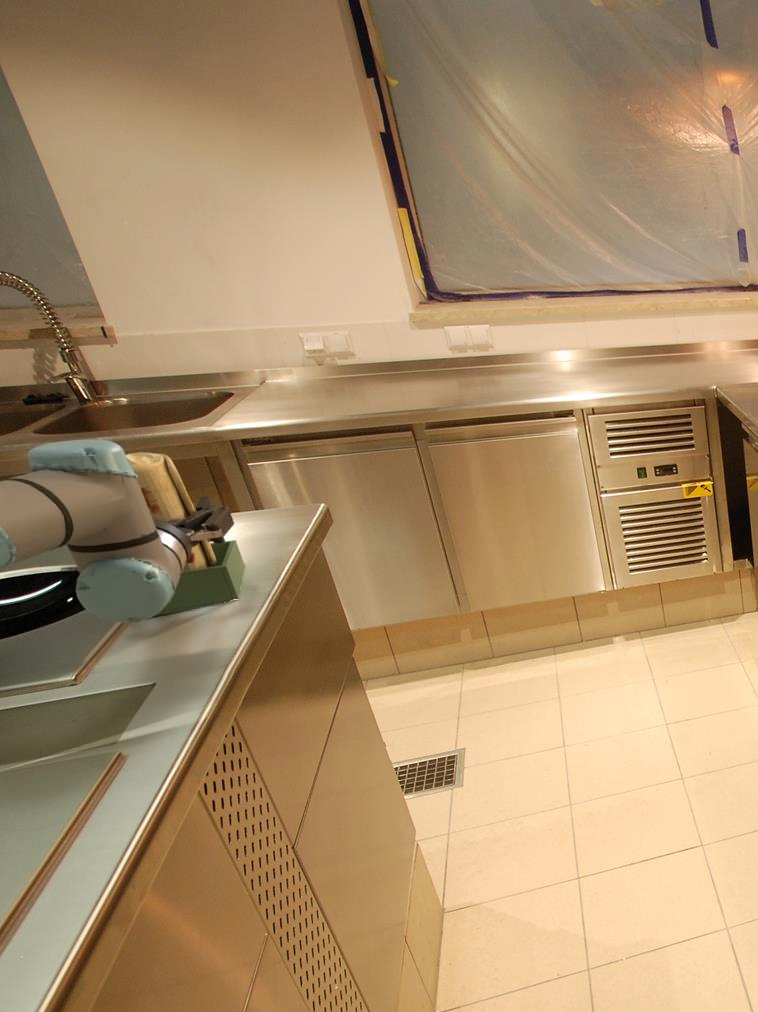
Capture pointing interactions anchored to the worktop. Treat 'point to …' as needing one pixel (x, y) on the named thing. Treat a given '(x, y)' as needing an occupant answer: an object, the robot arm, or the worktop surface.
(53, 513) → the robot arm
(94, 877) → the worktop surface
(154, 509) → the food model
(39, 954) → the worktop surface
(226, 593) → the bin
